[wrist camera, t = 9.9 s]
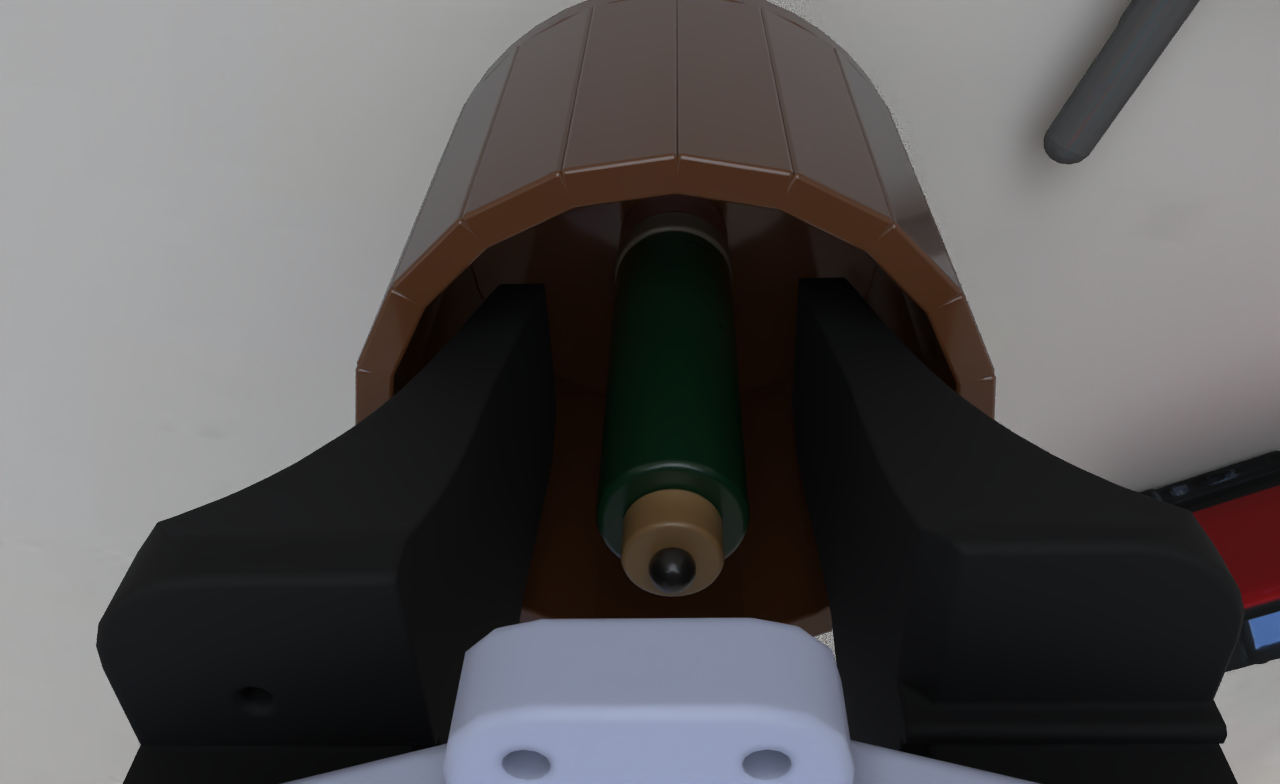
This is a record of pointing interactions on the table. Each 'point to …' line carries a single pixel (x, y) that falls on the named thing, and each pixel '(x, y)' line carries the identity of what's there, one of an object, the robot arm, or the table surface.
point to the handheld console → (1242, 543)
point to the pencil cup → (757, 238)
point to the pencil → (673, 401)
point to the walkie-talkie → (1114, 76)
